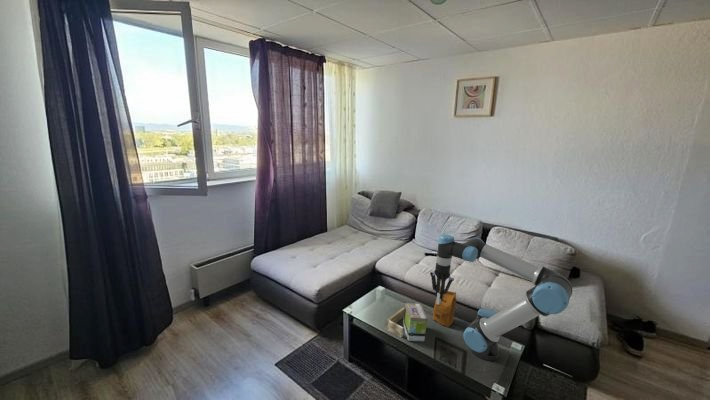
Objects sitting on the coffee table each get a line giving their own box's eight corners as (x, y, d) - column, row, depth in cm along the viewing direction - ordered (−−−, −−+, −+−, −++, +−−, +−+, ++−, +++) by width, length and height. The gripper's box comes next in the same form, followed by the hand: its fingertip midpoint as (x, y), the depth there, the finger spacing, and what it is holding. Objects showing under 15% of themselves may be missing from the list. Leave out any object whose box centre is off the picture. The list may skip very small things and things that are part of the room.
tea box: (425, 341, 161) (428, 318, 158) (407, 341, 161) (410, 317, 158) (418, 324, 176) (421, 303, 173) (402, 324, 176) (404, 302, 172)
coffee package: (437, 313, 189) (441, 282, 184) (455, 322, 180) (460, 290, 175) (429, 319, 182) (433, 287, 177) (447, 329, 173) (452, 296, 169)
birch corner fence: (417, 322, 178) (418, 314, 176) (401, 337, 163) (401, 328, 162) (402, 315, 184) (402, 307, 183) (385, 329, 170) (386, 320, 169)
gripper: (458, 265, 152) (452, 305, 157) (435, 257, 160) (430, 296, 165) (452, 269, 146) (447, 310, 151) (428, 261, 154) (424, 301, 159)
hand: (438, 303), depth 158 cm, fingers closed
